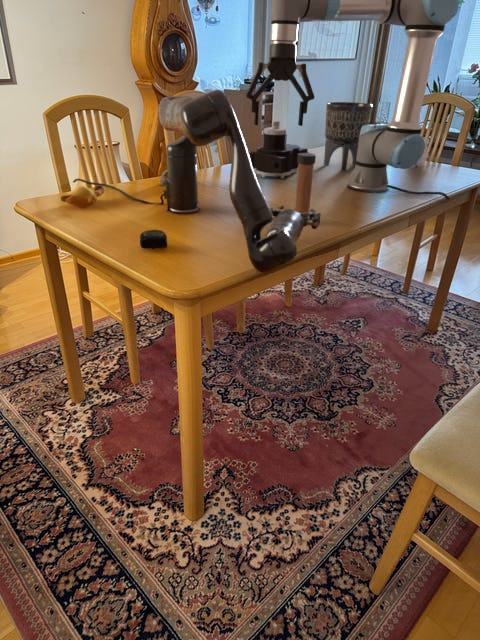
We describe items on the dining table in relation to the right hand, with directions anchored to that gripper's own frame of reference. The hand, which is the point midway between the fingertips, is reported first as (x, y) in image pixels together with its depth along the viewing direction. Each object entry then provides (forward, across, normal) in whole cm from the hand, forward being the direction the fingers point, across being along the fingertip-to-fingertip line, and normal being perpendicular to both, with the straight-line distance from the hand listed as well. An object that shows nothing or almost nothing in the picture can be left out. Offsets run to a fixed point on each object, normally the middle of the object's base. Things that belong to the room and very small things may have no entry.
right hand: (278, 125), depth 137 cm
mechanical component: (+26, -12, -52) cm, 59 cm away
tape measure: (+26, +36, +34) cm, 56 cm away
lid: (+6, -6, +14) cm, 17 cm away
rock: (+26, +32, -34) cm, 53 cm away
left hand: (+19, -3, +24) cm, 31 cm away
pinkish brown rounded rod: (+26, -6, +14) cm, 30 cm away
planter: (+25, -43, -65) cm, 82 cm away
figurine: (+25, -80, -68) cm, 109 cm away
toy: (+26, +62, -8) cm, 68 cm away
